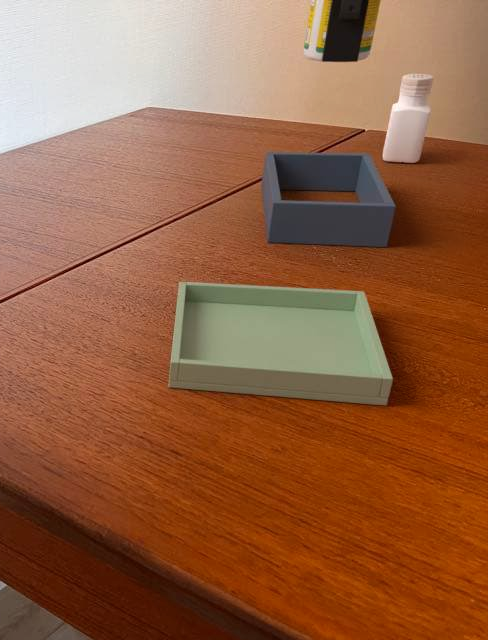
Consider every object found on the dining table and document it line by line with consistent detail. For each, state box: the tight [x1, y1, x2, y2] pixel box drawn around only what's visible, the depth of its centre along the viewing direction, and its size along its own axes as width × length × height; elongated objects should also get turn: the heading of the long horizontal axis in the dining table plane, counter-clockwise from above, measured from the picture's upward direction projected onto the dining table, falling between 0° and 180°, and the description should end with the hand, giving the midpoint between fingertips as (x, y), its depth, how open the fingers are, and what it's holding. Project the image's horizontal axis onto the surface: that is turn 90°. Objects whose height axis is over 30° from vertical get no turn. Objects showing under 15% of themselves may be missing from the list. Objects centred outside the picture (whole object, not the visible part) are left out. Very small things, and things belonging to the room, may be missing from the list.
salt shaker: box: [382, 73, 434, 164], centre depth 101 cm, size 4×4×10 cm
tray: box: [167, 281, 394, 407], centre depth 64 cm, size 14×14×2 cm
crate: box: [260, 151, 397, 248], centre depth 88 cm, size 11×18×4 cm, turn 165°
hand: (336, 53), depth 74 cm, fingers closed on supplement bottle, 5 cm apart
